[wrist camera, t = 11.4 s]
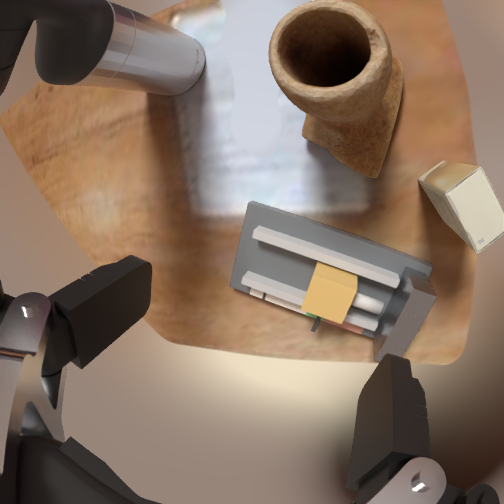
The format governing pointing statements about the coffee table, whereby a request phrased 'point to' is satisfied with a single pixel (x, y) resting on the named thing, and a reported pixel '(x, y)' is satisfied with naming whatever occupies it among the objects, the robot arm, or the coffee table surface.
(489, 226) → the skincare box
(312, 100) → the brown clay boot
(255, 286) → the base
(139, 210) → the coffee table surface
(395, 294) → the grey end plate
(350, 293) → the gauge carriage
